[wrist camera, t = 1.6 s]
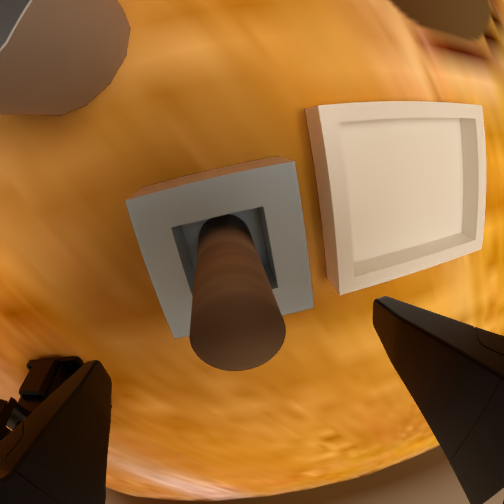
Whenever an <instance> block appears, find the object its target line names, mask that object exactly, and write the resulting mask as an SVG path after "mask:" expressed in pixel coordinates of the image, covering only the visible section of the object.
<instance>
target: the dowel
mask: <svg viewBox="0 0 504 504" xmlns="http://www.w3.org/2000/svg"><path fill="white" fill-rule="evenodd" d="M285 333H286V329H285V323H284V320H283V317H282V315H281V312H280V309H279V307H278V304H277V302H276V299H275V296H274V294H273V291H272V288H271V286H270V283H269V281H268V278H267V275H266V273H265V270H264V267H263V265H262V262H261V260H260V257H259V254H258V252H257V249H256V247H255V244H254V241H253V239H252V236H251V233H250V231H249V228H248V226H247V225H246V223H245V222H244V221H243V220H242V219H240V218H239V217H237V216H235V215H231V214H226V215H222V216H217V217H213V218H209V219H208V220H207V221H206V222H205V223H204V224H203V226H202V227H201V230H200V232H199V238H198V247H197V257H196V266H195V276H194V287H193V298H192V309H191V322H190V343H191V346H192V348H193V350H194V352H195V353H196V354H197V356H198V357H199V358H200V359H201V360H203V361H204V362H205V363H207V364H209V365H211V366H213V367H215V368H218V369H222V370H228V371H242V370H248V369H252V368H255V367H258V366H260V365H262V364H264V363H265V362H267V361H269V360H270V359H271V358H272V357H273V356H274V355H275V354H276V353H277V352H278V351H279V350H280V348H281V346H282V344H283V342H284V339H285Z"/></svg>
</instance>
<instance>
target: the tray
mask: <svg viewBox="0 0 504 504" xmlns="http://www.w3.org/2000/svg"><path fill="white" fill-rule="evenodd" d="M305 114H306V120H307V125H308V131H309V137H310V143H311V149H312V155H313V162H314V168H315V175H316V182H317V190H318V197H319V205H320V213H321V221H322V230H323V239H324V249H325V260H326V271H327V279H328V280H329V282H330V283H331V284H332V286H333V287H334V288H335V290H336V291H337V292H338V294H339V295H342V294H346V293H350V292H353V291H357V290H360V289H363V288H367V287H370V286H373V285H377V284H380V283H383V282H387V281H390V280H393V279H396V278H399V277H402V276H406V275H409V274H412V273H415V272H418V271H421V270H424V269H427V268H430V267H433V266H436V265H439V264H441V263H444V262H447V261H450V260H453V259H456V258H458V257H461V256H464V255H467V254H469V253H472V252H475V251H477V250H480V249H482V241H483V232H484V221H485V205H486V146H485V131H484V120H483V111H482V105H472V104H461V103H446V102H422V101H383V102H358V103H342V104H330V105H319V106H314V107H310V108H306V109H305Z"/></svg>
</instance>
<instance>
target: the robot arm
mask: <svg viewBox="0 0 504 504" xmlns="http://www.w3.org/2000/svg"><path fill="white" fill-rule="evenodd" d="M373 325H374V328H375V330H376V332H377V334H378V336H379V338H380V340H381V342H382V344H383V346H384V348H385V350H386V353H387V355H388V357H389V359H390V361H391V363H392V365H393V366H394V368H395V370H396V371H397V373H398V374H399V376H400V378H401V379H402V381H403V382H404V384H405V386H406V387H407V389H408V391H409V392H410V394H411V396H412V397H413V399H414V401H415V402H416V404H417V406H418V407H419V409H420V411H421V413H422V414H423V416H424V418H425V419H426V421H427V423H428V425H429V426H430V428H431V430H432V432H433V433H434V435H435V437H436V439H437V441H438V442H439V444H440V446H441V448H442V450H443V451H444V453H445V455H446V457H447V459H448V461H450V462H449V463H450V465H451V467H452V468H453V470H454V472H455V474H456V476H457V478H458V480H459V482H460V484H461V486H462V488H463V490H464V492H465V494H466V496H467V498H468V500H469V502H470V504H483V503H484V502H485V501H487V500H489V499H490V498H491V497H492V496H494V495H495V494H496V493H497V492H499V491H500V490H501V489H502V488H504V336H502V335H498V334H495V333H492V332H489V331H486V330H483V329H480V328H477V327H475V328H474V326H471V325H468V324H466V323H463V322H460V321H457V320H454V319H451V318H448V317H445V316H442V315H440V314H437V313H434V312H431V311H428V310H425V309H422V308H419V307H416V306H413V305H411V304H408V303H405V302H402V301H399V300H396V299H393V298H390V297H387V296H384V297H380V298H377V299H375V300H374V302H373ZM76 363H77V364H76ZM27 368H28V369H29V373H28V375H27V376H26V378H25V380H24V382H23V384H22V386H21V387H20V389H19V394H20V396H21V397H20V399H19V401H18V403H17V401H16V400H15V399H14V398H12V397H11V398H10V400H9V402H7V401H5V400H2V399H0V504H105V499H106V490H105V489H106V488H105V487H106V468H107V454H108V443H109V433H110V423H111V408H112V405H111V389H112V382H111V378H110V376H109V375H108V373H107V372H106V370H105V368H104V367H103V365H102V364H101V362H100V361H98V360H93V361H88V362H86V363H85V364H84V365H83V363H82V361H81V360H80V359H79V358H77V357H68V358H58V359H44V360H34V361H29V362H28V363H27ZM6 426H8V427H9V428H10V429H12V431H11V430H9V429H8V428H7V427H6ZM503 504H504V501H503Z"/></svg>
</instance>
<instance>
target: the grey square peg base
mask: <svg viewBox="0 0 504 504" xmlns="http://www.w3.org/2000/svg"><path fill="white" fill-rule="evenodd" d="M125 203H126V206H127V209H128V213H129V216H130V219H131V223H132V226H133V229H134V232H135V235H136V238H137V241H138V244H139V247H140V250H141V253H142V256H143V259H144V262H145V265H146V268H147V270H148V273H149V276H150V279H151V281H152V284H153V287H154V289H155V292H156V295H157V297H158V300H159V302H160V305H161V308H162V310H163V313H164V315H165V317H166V320H167V322H168V325H169V327H170V330H171V332H172V334H173V337H174V339H175V338H181V337H186V336H190V322H191V309H192V298H193V287H194V276H195V266H196V257H197V247H198V238H199V232H200V230H201V227H202V226H203V224H204V223H205V222H206V221H207V220H208V219H209V218H213V217H217V216H222V215H226V214H231V215H235V216H237V217H239V218H240V219H242V220H243V221H244V222H245V223H246V225H247V226H248V228H249V231H250V233H251V236H252V239H253V241H254V244H255V247H256V249H257V252H258V254H259V257H260V260H261V262H262V265H263V267H264V270H265V273H266V275H267V278H268V281H269V283H270V286H271V288H272V291H273V294H274V296H275V299H276V302H277V304H278V307H279V309H280V312H281V315H282V316H283V315H287V314H291V313H295V312H299V311H303V310H306V309H310V308H314V301H313V292H312V282H311V274H310V265H309V257H308V249H307V241H306V233H305V226H304V218H303V211H302V204H301V198H300V191H299V185H298V178H297V172H296V166H295V161H293V160H290V159H287V158H284V157H280V156H275V157H270V158H265V159H259V160H254V161H249V162H244V163H240V164H235V165H230V166H226V167H221V168H217V169H212V170H208V171H204V172H200V173H195V174H191V175H187V176H183V177H179V178H176V179H172V180H168V181H164V182H161V183H157V184H153V185H150V186H146V187H143V188H141V189H139V190H138V191H137V192H136V193H134V194H133V195H132V196H131V197H129V198H128V199H127V200H126V201H125Z"/></svg>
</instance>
